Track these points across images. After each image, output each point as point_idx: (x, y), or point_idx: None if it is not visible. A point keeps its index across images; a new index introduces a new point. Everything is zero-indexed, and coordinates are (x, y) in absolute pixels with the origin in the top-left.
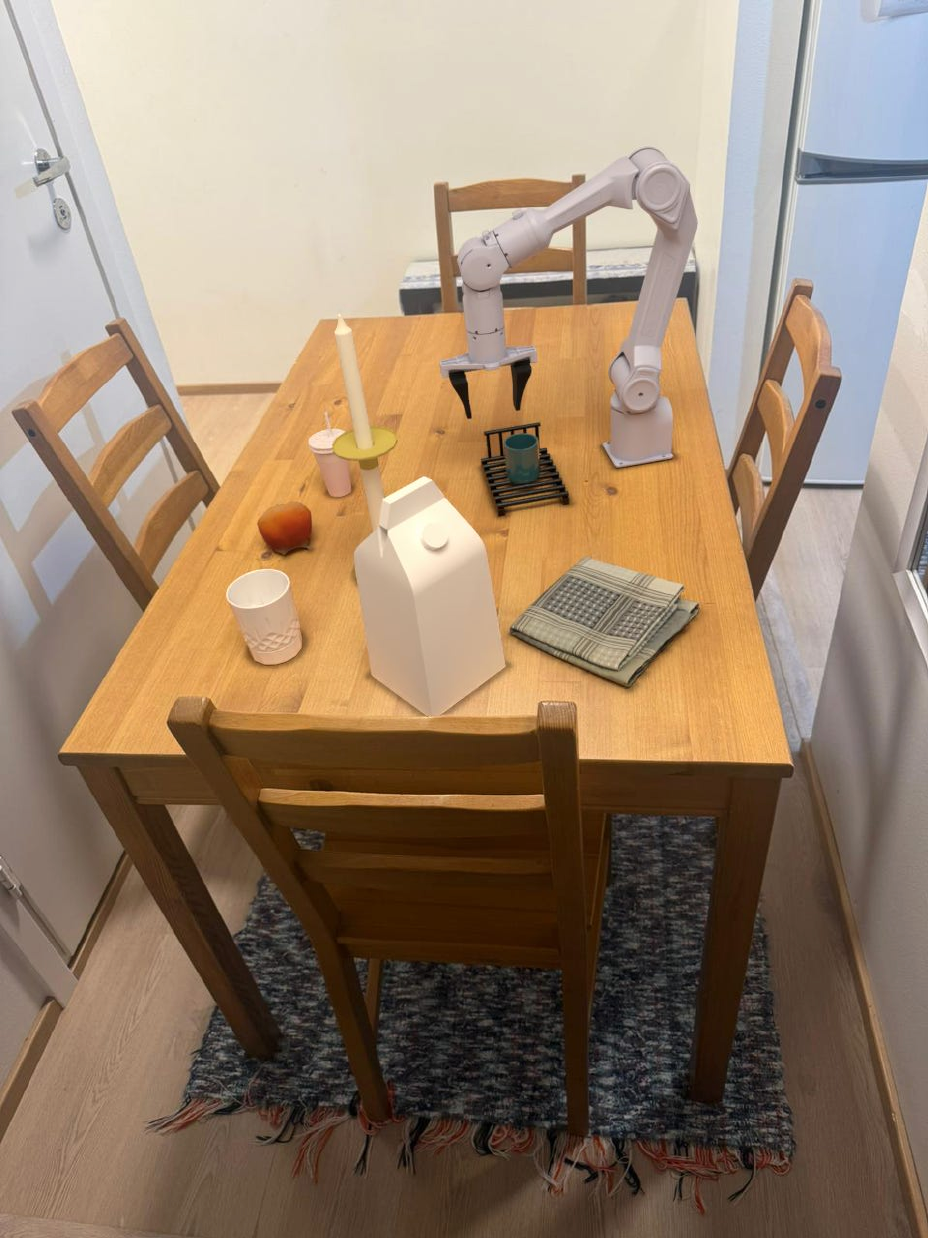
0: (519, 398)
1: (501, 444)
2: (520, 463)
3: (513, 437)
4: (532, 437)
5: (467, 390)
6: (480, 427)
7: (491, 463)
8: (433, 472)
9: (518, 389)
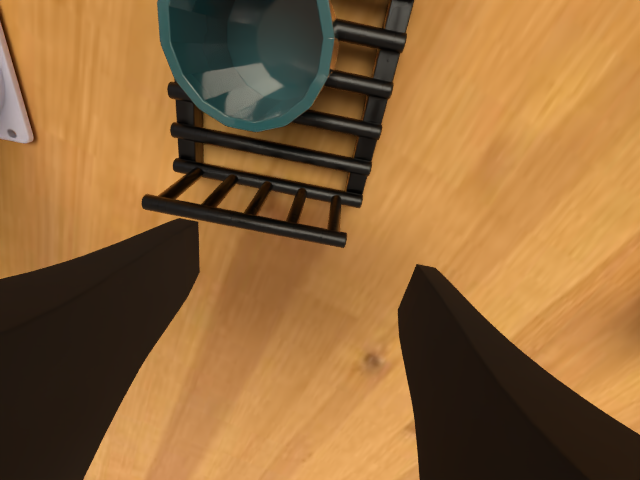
0: (138, 241)
1: (297, 203)
2: None
3: (265, 117)
4: (183, 65)
5: (522, 399)
6: (294, 340)
7: (345, 167)
8: (469, 239)
9: (95, 275)
